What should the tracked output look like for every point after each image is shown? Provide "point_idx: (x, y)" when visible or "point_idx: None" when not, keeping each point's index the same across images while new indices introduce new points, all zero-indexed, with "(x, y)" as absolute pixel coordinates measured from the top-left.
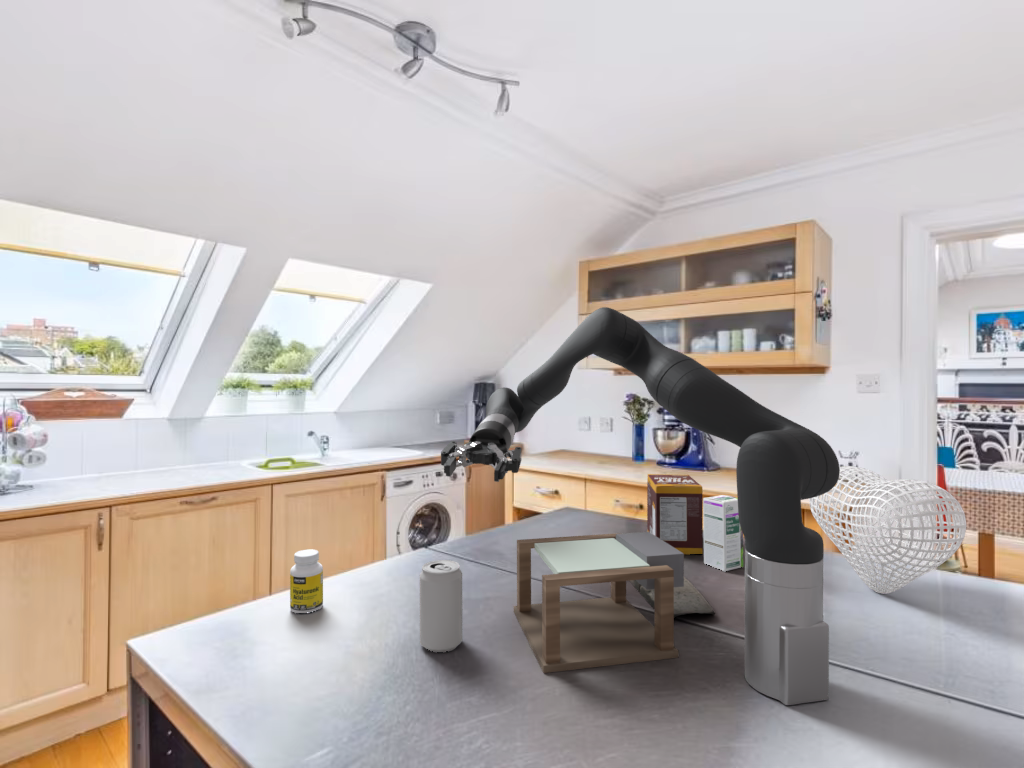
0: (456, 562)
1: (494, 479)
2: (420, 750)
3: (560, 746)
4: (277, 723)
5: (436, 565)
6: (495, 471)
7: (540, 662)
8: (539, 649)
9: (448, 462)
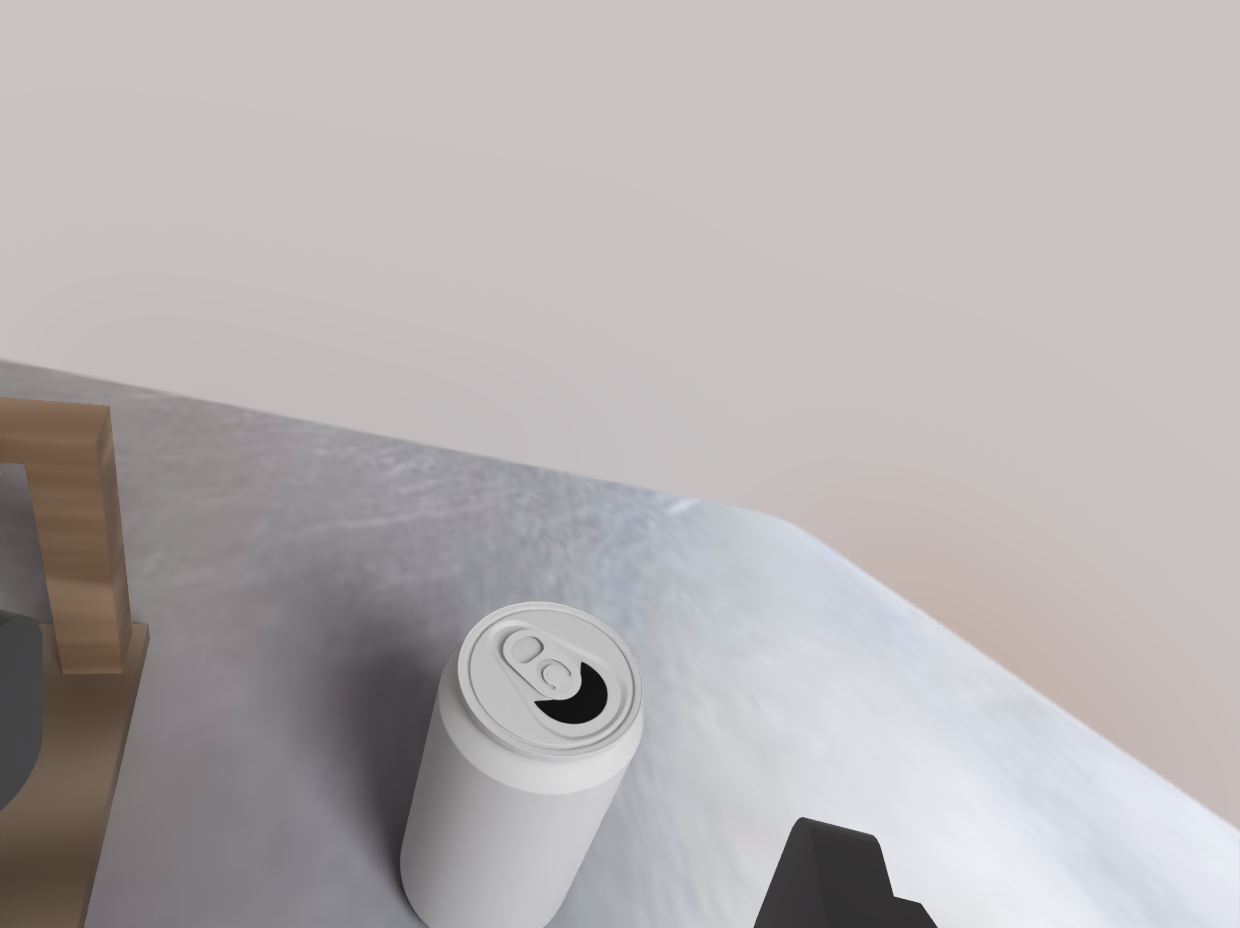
0: (474, 709)
1: (39, 724)
2: (509, 475)
3: (237, 429)
4: (797, 583)
5: (579, 772)
6: (14, 614)
7: (140, 662)
8: (107, 717)
9: (893, 926)
